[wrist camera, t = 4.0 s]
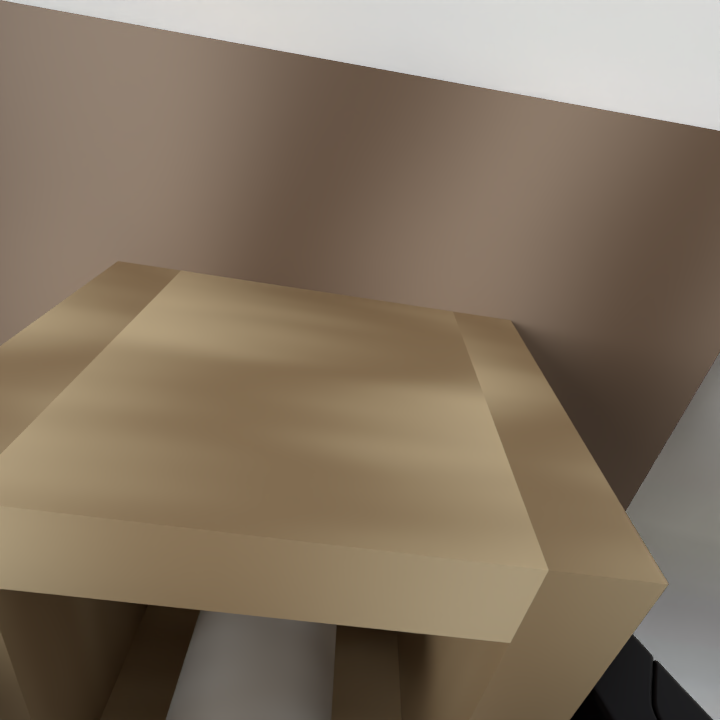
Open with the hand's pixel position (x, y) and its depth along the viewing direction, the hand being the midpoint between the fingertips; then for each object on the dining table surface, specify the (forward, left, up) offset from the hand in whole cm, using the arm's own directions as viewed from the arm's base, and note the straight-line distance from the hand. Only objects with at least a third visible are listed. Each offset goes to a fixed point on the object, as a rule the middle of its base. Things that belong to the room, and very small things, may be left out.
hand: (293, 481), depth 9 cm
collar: (0, 0, -1) cm, 1 cm away
